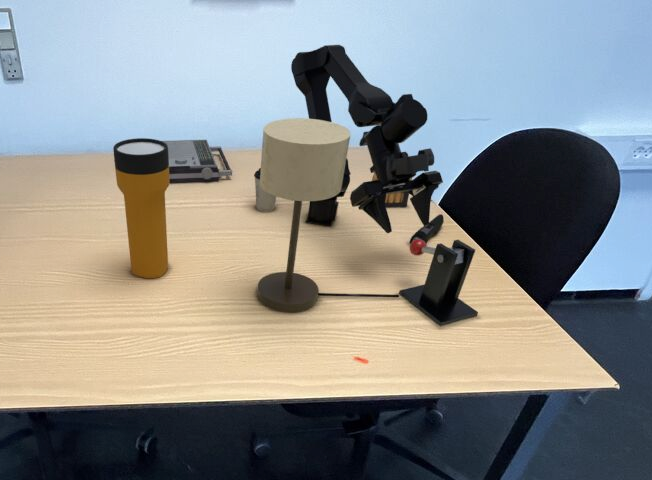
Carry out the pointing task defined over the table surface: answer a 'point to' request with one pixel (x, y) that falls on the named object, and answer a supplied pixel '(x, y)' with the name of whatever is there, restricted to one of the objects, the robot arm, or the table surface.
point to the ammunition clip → (395, 197)
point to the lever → (432, 250)
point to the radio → (194, 162)
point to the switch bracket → (443, 286)
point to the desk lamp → (300, 195)
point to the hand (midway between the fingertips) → (408, 228)
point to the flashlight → (144, 202)
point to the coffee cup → (263, 196)
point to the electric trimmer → (428, 229)
